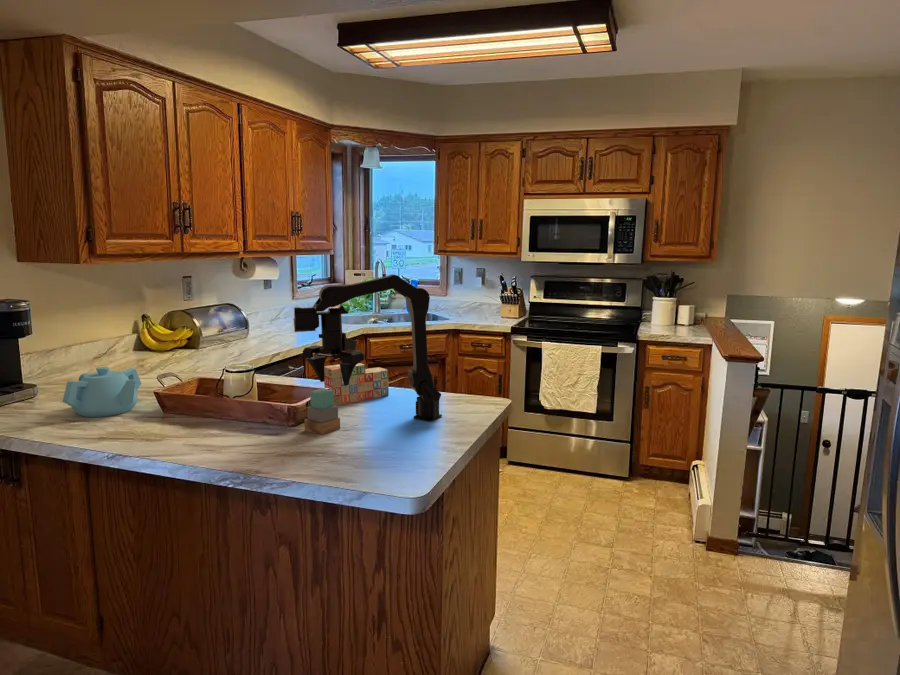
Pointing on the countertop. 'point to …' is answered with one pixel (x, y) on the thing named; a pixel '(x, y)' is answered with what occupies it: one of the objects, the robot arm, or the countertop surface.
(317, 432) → the walnut base block
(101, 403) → the teapot
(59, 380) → the countertop surface
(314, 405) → the teal block
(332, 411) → the charcoal block
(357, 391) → the stack of blocks
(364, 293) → the robot arm
